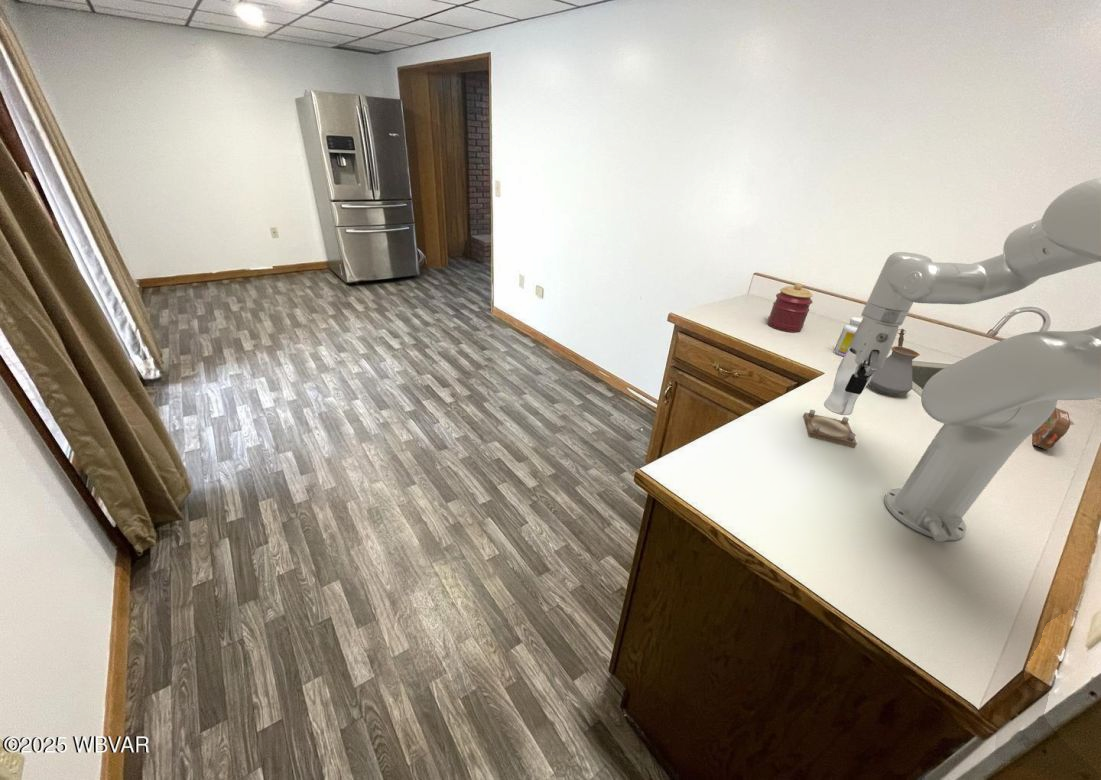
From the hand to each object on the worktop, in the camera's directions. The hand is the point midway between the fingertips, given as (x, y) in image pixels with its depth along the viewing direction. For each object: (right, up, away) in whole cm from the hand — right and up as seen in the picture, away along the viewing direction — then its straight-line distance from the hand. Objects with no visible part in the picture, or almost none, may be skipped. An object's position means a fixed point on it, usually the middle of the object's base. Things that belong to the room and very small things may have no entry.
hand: (849, 384), depth 101 cm
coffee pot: (+33, +1, +33) cm, 47 cm away
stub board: (-1, -12, +6) cm, 13 cm away
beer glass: (0, -6, +4) cm, 7 cm away
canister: (+23, +24, +72) cm, 79 cm away
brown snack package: (+55, -15, +9) cm, 58 cm away
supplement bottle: (+34, +11, +51) cm, 62 cm away
